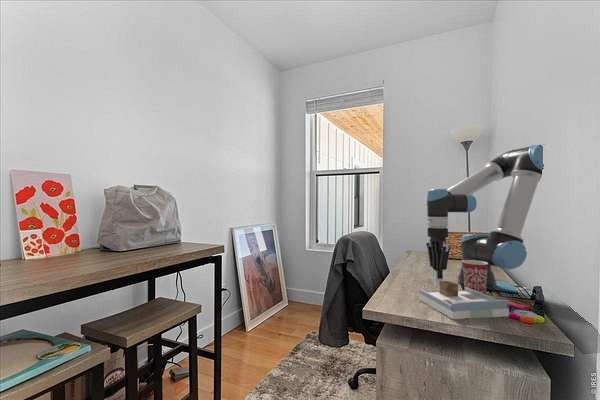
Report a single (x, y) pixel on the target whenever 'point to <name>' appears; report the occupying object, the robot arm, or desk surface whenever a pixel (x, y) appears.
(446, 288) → the walnut cube
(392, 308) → the desk surface
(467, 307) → the tray
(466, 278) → the mug
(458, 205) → the robot arm
